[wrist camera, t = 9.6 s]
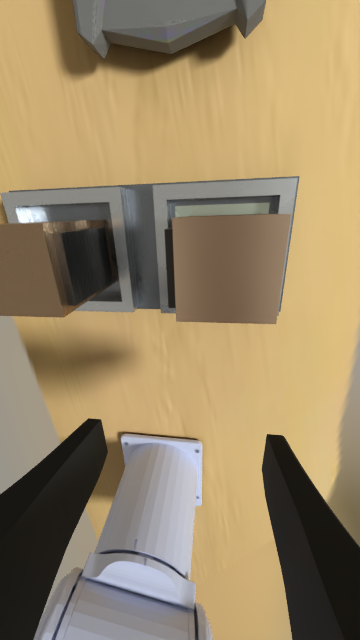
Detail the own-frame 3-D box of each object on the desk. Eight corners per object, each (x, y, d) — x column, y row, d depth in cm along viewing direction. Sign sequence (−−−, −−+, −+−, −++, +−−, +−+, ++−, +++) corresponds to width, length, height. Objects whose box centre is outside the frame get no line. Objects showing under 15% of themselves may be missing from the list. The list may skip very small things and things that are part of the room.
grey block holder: (275, 303, 17) (313, 363, 10) (52, 299, 19) (-36, 346, 13) (291, 179, 14) (360, 148, 7) (26, 192, 16) (-108, 178, 10)
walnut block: (261, 213, 14) (290, 213, 8) (254, 284, 15) (275, 324, 10) (182, 216, 14) (160, 218, 9) (184, 283, 16) (166, 321, 10)
